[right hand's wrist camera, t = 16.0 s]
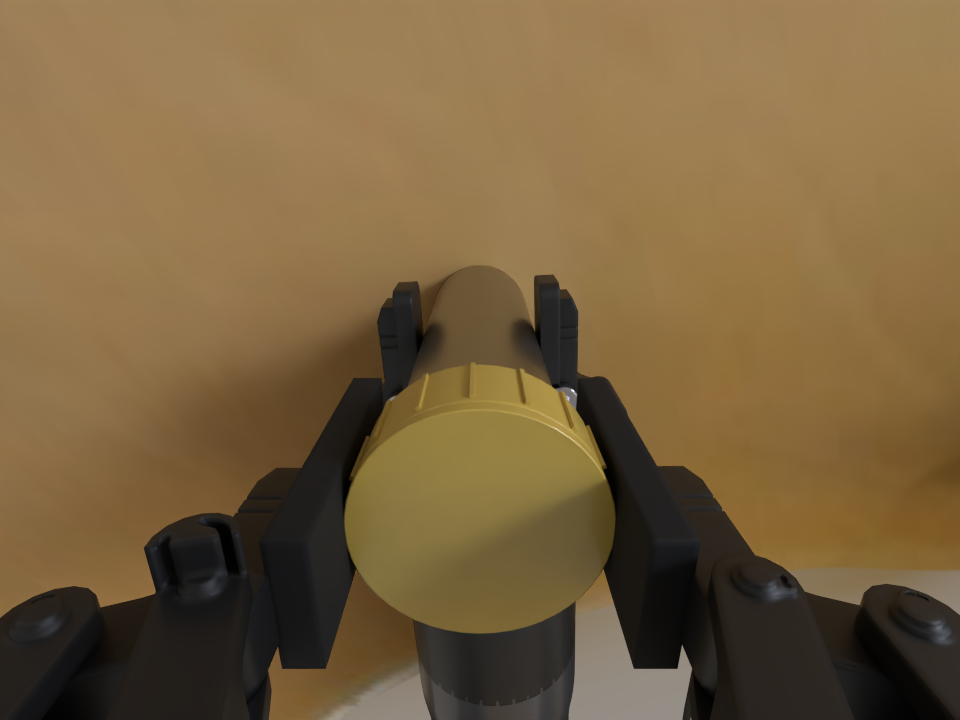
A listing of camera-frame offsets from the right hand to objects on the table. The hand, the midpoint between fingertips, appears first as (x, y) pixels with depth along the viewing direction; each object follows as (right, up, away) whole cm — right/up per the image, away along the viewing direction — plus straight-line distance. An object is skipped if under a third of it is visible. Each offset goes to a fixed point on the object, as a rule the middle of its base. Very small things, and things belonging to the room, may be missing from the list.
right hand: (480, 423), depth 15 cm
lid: (0, -2, -4) cm, 4 cm away
